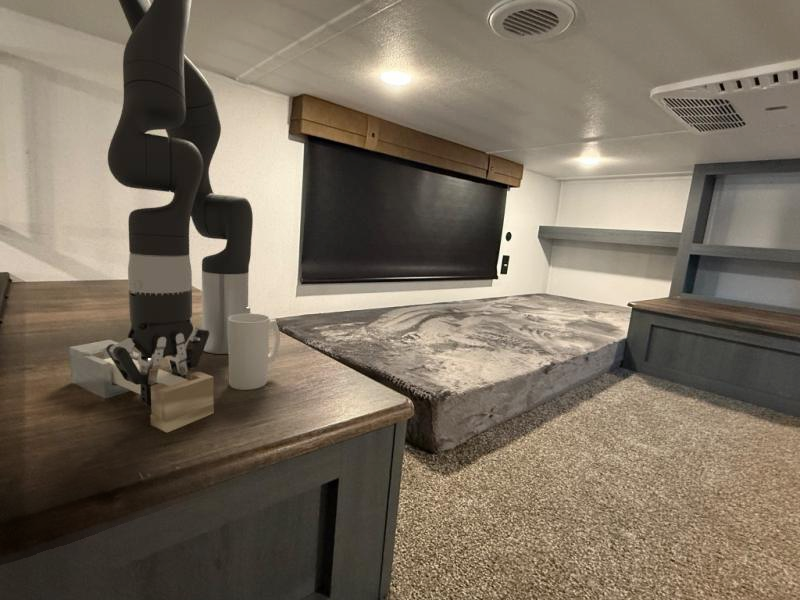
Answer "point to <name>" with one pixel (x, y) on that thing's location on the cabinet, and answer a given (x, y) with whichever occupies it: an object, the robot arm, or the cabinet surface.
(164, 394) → the socket
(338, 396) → the cabinet surface
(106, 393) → the grey slotted channel block
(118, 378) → the cream square bar
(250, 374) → the mug
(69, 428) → the cabinet surface
